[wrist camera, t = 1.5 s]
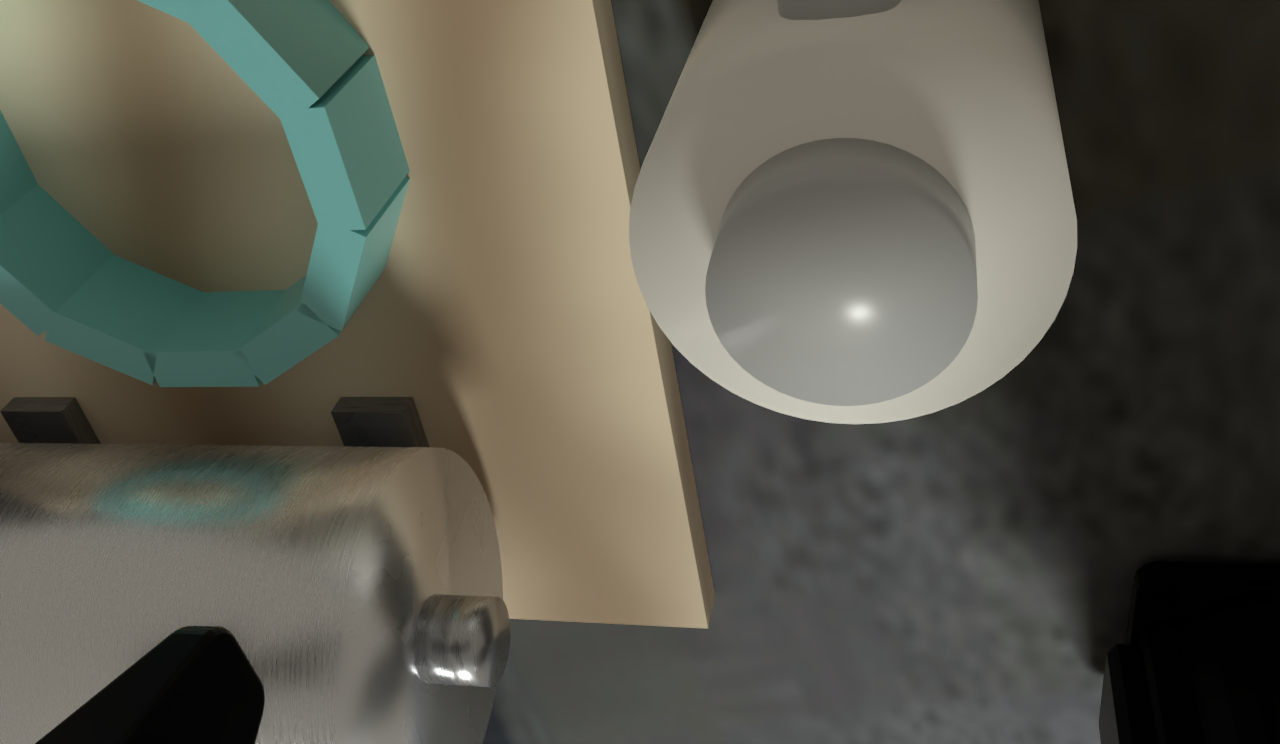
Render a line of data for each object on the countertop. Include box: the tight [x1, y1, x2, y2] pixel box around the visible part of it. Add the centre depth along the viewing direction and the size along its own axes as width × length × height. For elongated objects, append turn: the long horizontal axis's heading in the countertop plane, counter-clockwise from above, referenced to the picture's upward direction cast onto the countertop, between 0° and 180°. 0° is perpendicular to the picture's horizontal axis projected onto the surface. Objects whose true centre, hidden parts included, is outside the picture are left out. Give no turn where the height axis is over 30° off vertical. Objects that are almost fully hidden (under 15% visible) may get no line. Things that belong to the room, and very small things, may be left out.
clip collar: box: [0, 0, 410, 387], centre depth 20 cm, size 8×8×2 cm
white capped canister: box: [629, 0, 1077, 424], centre depth 15 cm, size 5×7×7 cm
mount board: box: [0, 0, 715, 628], centre depth 24 cm, size 18×17×1 cm
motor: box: [0, 397, 510, 744], centre depth 23 cm, size 14×7×8 cm, turn 99°
